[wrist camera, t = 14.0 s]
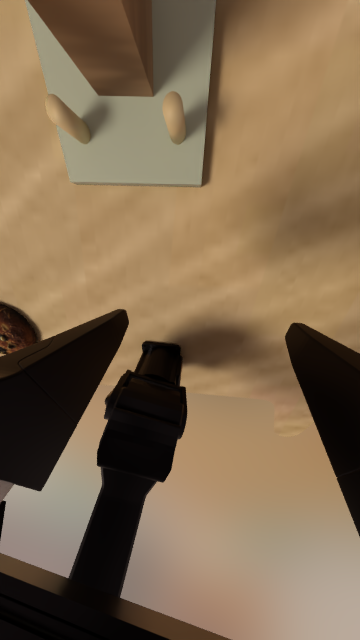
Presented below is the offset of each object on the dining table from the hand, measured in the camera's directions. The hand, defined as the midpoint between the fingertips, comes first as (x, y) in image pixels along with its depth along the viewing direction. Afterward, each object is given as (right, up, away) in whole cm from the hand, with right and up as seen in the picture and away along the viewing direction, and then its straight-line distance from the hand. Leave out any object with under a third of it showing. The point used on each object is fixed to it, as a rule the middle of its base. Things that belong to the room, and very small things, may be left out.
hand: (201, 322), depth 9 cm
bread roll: (-33, -1, +20) cm, 38 cm away
